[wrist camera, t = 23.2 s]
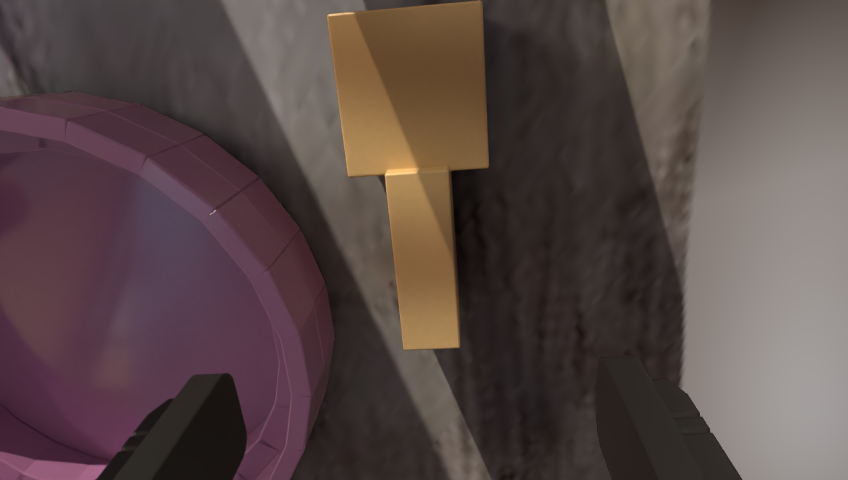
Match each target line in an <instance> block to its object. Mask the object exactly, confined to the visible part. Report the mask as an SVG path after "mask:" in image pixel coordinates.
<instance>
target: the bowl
mask: <svg viewBox="0 0 848 480" xmlns="http://www.w3.org/2000/svg"><path fill="white" fill-rule="evenodd" d="M334 338H335V336H334V329H333V323H332V317H331V311H330V304H329V298H328V292H327V286H326V284H325V281H324V279H323V277H322V274H321V272H320V270H319V268H318V266H317V263H316V261H315V259H314V257H313V255H312V253H311V250H310V248H309V246H308V244H307V242H306V239H305V237H304V235H303V233H302V231H301V230H300V227H299V226H298V225H297V224H296V222H295V221H294V220H293V219H292V217H291V216H290V215H289V214H288V212H287V211H286V210H285V209H284V207H283V206H282V205H281V204H280V202H279V201H278V200H277V199H276V197H275V196H274V195H273V194H272V192H271V191H270V190H269V189H268V187H267V186H266V185H265V184H264V182H263V181H262V180H261V179H260V178H259V177H258V176H257V175H256V174H254V173H253V172H252V171H251V170H249V169H248V168H247V167H246V166H244V165H243V164H242V163H240V162H239V161H238V160H237V159H235V158H234V157H233V156H232V155H230V154H229V153H228V152H226V151H225V150H224V149H223V148H221V147H220V146H219V145H218V144H216V143H215V142H214V141H212V140H211V139H210V138H209V137H207V136H206V135H204V134H203V133H201V132H199V131H197V130H195V129H192V128H190V127H188V126H186V125H184V124H182V123H180V122H177V121H175V120H173V119H171V118H169V117H167V116H164V115H162V114H160V113H158V112H156V111H154V110H151V109H149V108H147V107H145V106H143V105H139V104H136V103H131V102H126V101H121V100H115V99H110V98H105V97H100V96H94V95H89V94H84V93H79V92H72V91H66V92H54V93H42V94H30V95H19V96H8V97H0V480H96V479H97V477H98V476H99V475H100V474H101V472H102V471H103V470H104V469H105V467H106V466H107V465H108V464H109V462H110V461H111V460H112V459H113V457H114V456H115V455H116V454H117V452H121V447H122V446H123V445H124V444H125V442H126V441H127V440H128V439H129V437H130V436H133V432H134V431H135V430H136V428H137V427H138V426H139V425H140V423H141V422H142V421H143V420H144V418H145V417H146V416H147V415H148V414H149V413H150V412H152V411H153V410H154V409H156V408H157V407H158V406H160V405H161V404H162V403H164V402H165V401H166V400H168V399H171V398H175V397H176V396H177V394H178V393H179V392H180V390H181V389H182V388H183V387H184V385H185V384H186V383H187V381H188V380H189V379H190V378H191V377H192V376H193V375H195V374H217V373H229V374H230V375H231V376H232V377H233V379H234V382H235V386H236V390H237V394H238V398H239V402H240V406H241V410H242V414H243V418H244V422H245V426H246V431H247V445H246V451H245V455H244V458H243V460H242V462H241V464H240V466H239V468H238V470H237V472H236V474H235V476H234V478H233V480H291V478H292V476H293V474H294V472H295V469H296V467H297V465H298V463H299V461H300V459H301V457H302V455H303V453H304V451H305V448H306V446H307V443H308V440H309V437H310V435H311V432H312V429H313V426H314V424H315V421H316V418H317V415H318V413H319V410H320V407H321V404H322V402H323V399H324V396H325V393H326V391H327V387H328V383H329V376H330V369H331V361H332V354H333V347H334Z"/></svg>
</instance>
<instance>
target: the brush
mask: <svg viewBox="0 0 848 480" xmlns="http://www.w3.org/2000/svg"><path fill="white" fill-rule="evenodd" d="M327 21H328V28H329V36H330V43H331V51H332V59H333V66H334V74H335V81H336V89H337V96H338V104H339V111H340V119H341V126H342V134H343V142H344V149H345V157H346V164H347V172H348V176H349V177H365V176H380V175H385V183H386V193H387V202H388V211H389V220H390V229H391V239H392V248H393V257H394V266H395V275H396V285H397V294H398V303H399V312H400V321H401V331H402V340H403V348H404V350H424V349H448V348H460V300H459V285H458V270H457V254H456V239H455V223H454V208H453V193H452V177H451V171H454V170H469V169H484V168H488V167H489V153H488V128H487V103H486V78H485V53H484V28H483V3H482V1H480V0H478V1H467V2H456V3H445V4H434V5H423V6H412V7H401V8H390V9H379V10H368V11H357V12H346V13H335V14H329V15H327Z"/></svg>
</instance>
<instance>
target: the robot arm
mask: <svg viewBox="0 0 848 480" xmlns="http://www.w3.org/2000/svg"><path fill="white" fill-rule="evenodd" d="M596 423H597V432H598V438H599V443H600V447H601V450H602V453H603V456H604V458H605V461H606V464H607V467H608V470H609V473H610V475H611V478H612V480H742V478H741V477H740V475H739V474H738V472H737V471H736V469H735V467H734V466H733V464H732V463H731V461H730V460H729V458H728V456H727V455H726V453H725V452H724V450H723V449H722V447H721V445H720V444H719V442H718V441H717V439H716V438H715V436H714V435H713V433H710V428H709V427H708V425H707V424H706V422H705V421H704V419H703V417H700V413H699V411H698V410H697V408H696V407H695V405H694V403H693V402H692V400H691V399H690V397H689V396H688V394H686V393H685V392H684V391H683V390H681V389H680V388H679V387H677V386H676V385H675V384H673V383H672V382H671V381H669V380H668V379H651V378H650V376H649V374H648V373H647V371H646V369H645V367H644V366H643V364H642V362H641V360H640V359H639V357H638V356H614V357H600V358H599V361H598V378H597V410H596ZM246 445H247V431H246V426H245V422H244V418H243V414H242V410H241V406H240V402H239V398H238V394H237V390H236V386H235V382H234V379H233V377H232V376H231V375H230V374H229V373H217V374H195V375H193V376H192V377H191V378H190V379H189V380H188V381H187V383H186V384H185V385H184V387H183V388H182V389H181V390H180V392H179V393H178V394H177V396H176V397H175V398H171V399H168V400H166V401H165V402H164V403H162V404H161V405H160V406H158V407H157V408H156V409H154V410H153V411H152V412H150V413H149V414H148V415H147V416H146V417H145V418H144V420H143V421H142V422H141V423H140V425H139V426H138V427H137V428H136V430H135V431H134V432H133V436H130V437H129V439H128V440H127V441H126V442H125V444H124V445H123V446H122V447H121V452H117V454H116V455H115V456H114V457H113V459H112V460H111V461H110V462H109V464H108V465H107V466H106V467H105V469H104V470H103V471H102V472H101V474H100V475H99V476H98V477H97V479H96V480H233V478H234V476H235V474H236V472H237V470H238V468H239V466H240V464H241V462H242V460H243V458H244V455H245V451H246Z"/></svg>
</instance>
